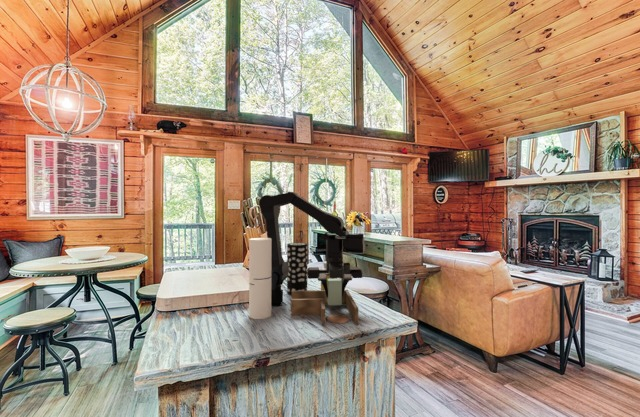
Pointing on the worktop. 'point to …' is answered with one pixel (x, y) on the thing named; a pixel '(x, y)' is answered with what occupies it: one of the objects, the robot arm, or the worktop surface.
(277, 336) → the worktop surface
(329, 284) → the block
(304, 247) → the white-spotted black cylinder
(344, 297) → the channel
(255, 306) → the cylindrical container
